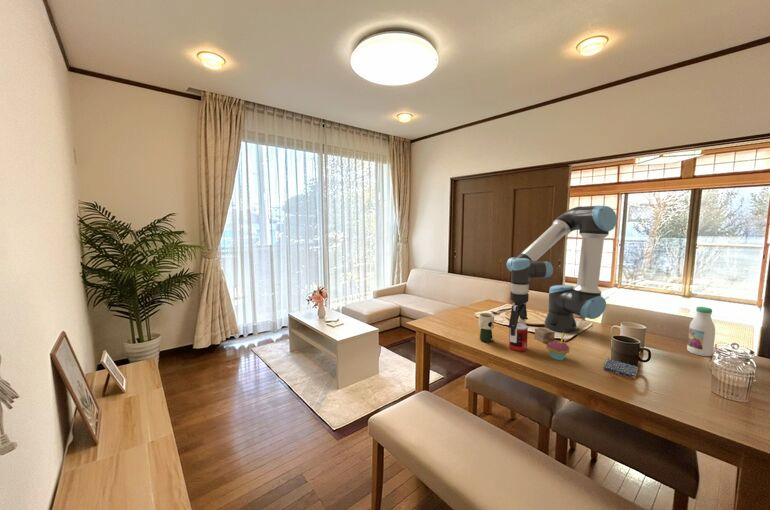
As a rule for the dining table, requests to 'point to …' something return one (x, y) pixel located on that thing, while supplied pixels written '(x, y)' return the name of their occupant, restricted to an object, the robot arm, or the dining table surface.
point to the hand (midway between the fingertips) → (517, 337)
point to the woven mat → (621, 368)
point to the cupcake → (558, 349)
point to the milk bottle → (701, 333)
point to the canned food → (520, 338)
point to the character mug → (486, 326)
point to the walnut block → (544, 335)
